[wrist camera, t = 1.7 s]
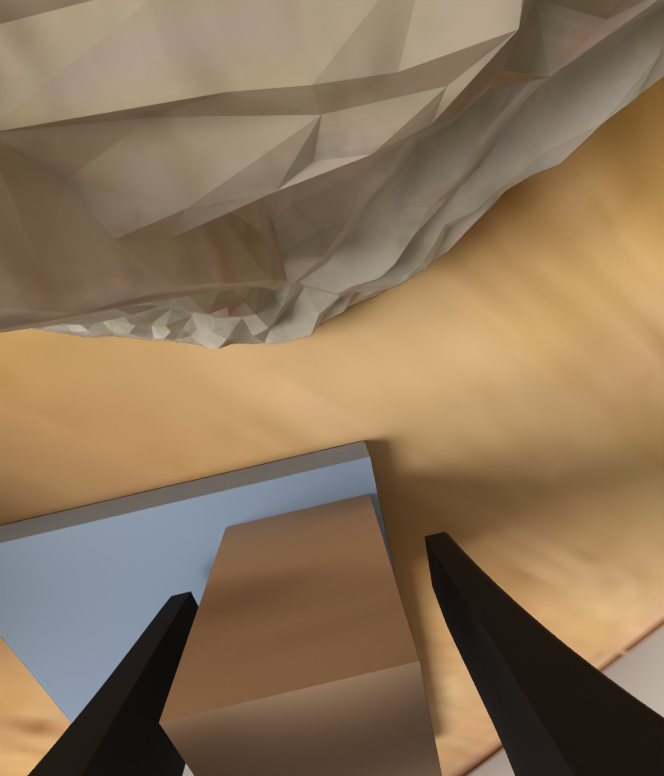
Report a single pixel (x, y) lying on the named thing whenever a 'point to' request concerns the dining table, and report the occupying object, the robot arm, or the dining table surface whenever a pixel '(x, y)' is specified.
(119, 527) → the board
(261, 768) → the walnut block
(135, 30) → the jagged grey rock
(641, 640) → the dining table surface
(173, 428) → the dining table surface
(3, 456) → the dining table surface
